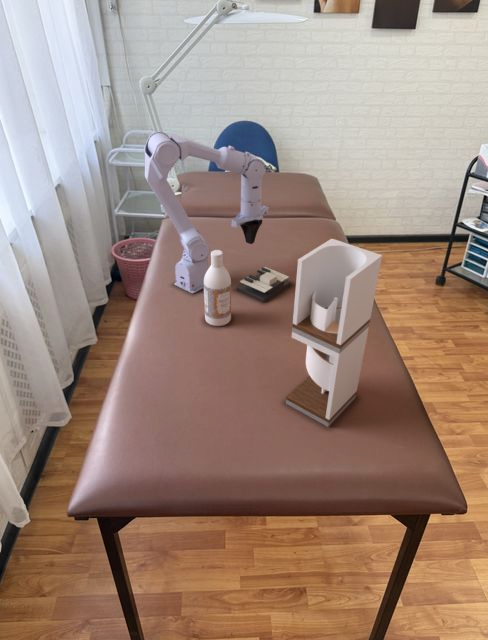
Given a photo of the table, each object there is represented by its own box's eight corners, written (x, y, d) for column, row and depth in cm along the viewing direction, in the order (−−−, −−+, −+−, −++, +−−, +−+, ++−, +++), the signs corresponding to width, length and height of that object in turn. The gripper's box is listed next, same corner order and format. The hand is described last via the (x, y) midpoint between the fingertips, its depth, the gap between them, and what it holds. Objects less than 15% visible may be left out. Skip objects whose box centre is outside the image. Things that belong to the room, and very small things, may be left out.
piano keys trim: (289, 277, 149) (289, 274, 149) (264, 292, 142) (264, 290, 141) (265, 267, 154) (265, 265, 153) (239, 281, 146) (239, 279, 146)
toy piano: (290, 285, 151) (291, 276, 149) (263, 303, 143) (263, 294, 141) (264, 274, 156) (264, 265, 155) (236, 290, 148) (236, 281, 146)
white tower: (314, 377, 117) (331, 238, 97) (355, 397, 111) (382, 255, 92) (286, 403, 110) (298, 259, 90) (328, 427, 104) (350, 279, 84)
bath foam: (213, 329, 132) (211, 261, 120) (200, 317, 136) (197, 250, 125) (235, 321, 135) (236, 254, 123) (222, 309, 139) (221, 243, 128)
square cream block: (276, 282, 147) (277, 275, 146) (269, 286, 145) (269, 280, 144) (267, 277, 149) (267, 271, 148) (259, 282, 147) (259, 276, 146)
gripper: (245, 209, 136) (244, 255, 144) (277, 195, 146) (275, 238, 153) (225, 203, 140) (226, 247, 148) (258, 189, 149) (257, 231, 157)
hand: (249, 242), depth 151 cm, fingers closed
